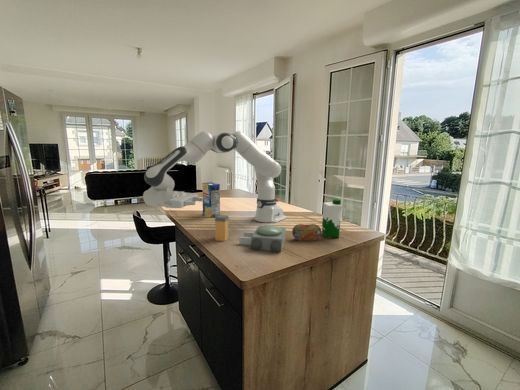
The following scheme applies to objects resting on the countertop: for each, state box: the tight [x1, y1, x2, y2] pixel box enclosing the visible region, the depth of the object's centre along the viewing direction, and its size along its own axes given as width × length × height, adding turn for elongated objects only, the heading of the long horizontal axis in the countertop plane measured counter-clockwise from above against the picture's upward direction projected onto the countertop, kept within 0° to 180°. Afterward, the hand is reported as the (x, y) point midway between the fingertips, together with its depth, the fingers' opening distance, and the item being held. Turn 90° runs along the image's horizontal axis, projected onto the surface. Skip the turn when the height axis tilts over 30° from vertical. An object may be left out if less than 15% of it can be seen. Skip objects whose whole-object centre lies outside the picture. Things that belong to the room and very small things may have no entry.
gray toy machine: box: [238, 224, 287, 253], centre depth 129 cm, size 21×20×8 cm
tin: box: [291, 223, 322, 242], centre depth 135 cm, size 15×3×8 cm, turn 95°
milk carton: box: [321, 198, 343, 238], centre depth 141 cm, size 9×9×20 cm
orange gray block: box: [214, 214, 229, 242], centre depth 132 cm, size 5×5×12 cm
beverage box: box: [201, 181, 221, 219], centre depth 175 cm, size 7×11×22 cm, turn 41°
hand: (198, 201), depth 132 cm, fingers open, 8 cm apart
